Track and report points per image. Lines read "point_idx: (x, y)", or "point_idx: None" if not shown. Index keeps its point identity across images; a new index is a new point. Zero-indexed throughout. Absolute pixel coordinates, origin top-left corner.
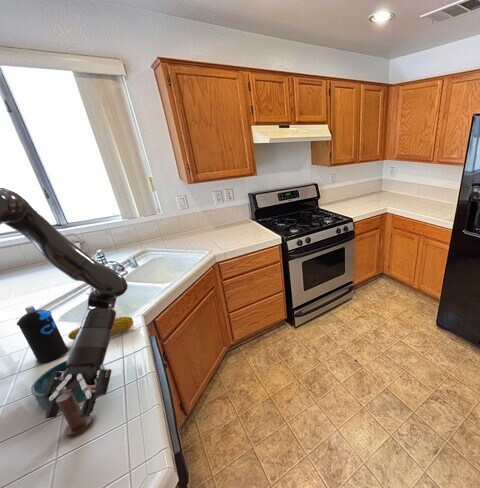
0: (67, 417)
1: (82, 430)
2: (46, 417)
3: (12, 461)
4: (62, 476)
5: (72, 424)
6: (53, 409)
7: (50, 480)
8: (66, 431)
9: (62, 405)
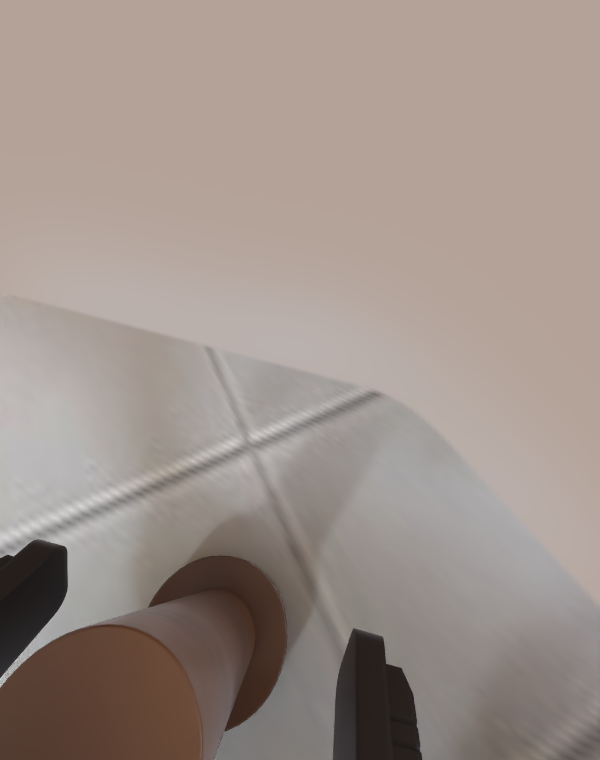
0: (194, 596)
1: (174, 575)
2: (376, 637)
3: (469, 496)
4: (181, 358)
5: (205, 591)
6: (349, 721)
7: (221, 355)
8: (266, 591)
9: (131, 615)
